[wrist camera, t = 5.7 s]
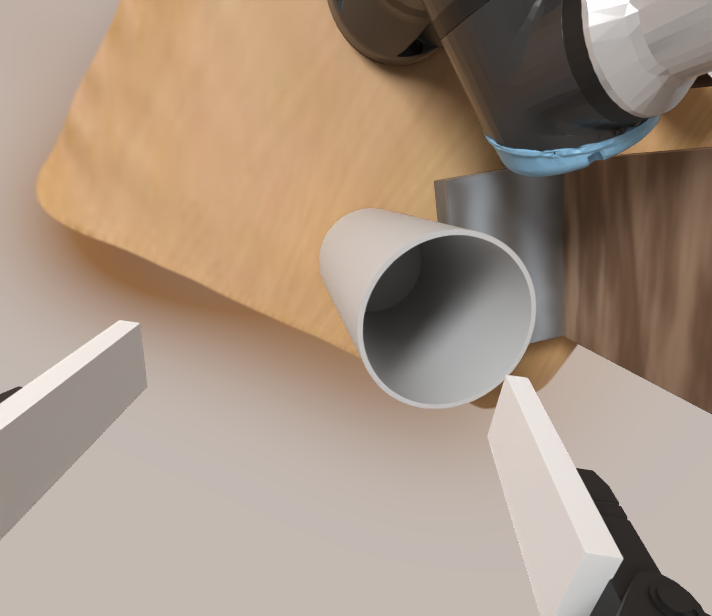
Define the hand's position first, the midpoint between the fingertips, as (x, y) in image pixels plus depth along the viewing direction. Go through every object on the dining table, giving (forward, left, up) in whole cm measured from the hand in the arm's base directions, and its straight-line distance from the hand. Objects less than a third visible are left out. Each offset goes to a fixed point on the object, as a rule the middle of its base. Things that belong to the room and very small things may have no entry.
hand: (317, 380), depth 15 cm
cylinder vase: (+10, +3, -36) cm, 37 cm away
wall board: (+25, +12, -36) cm, 45 cm away
